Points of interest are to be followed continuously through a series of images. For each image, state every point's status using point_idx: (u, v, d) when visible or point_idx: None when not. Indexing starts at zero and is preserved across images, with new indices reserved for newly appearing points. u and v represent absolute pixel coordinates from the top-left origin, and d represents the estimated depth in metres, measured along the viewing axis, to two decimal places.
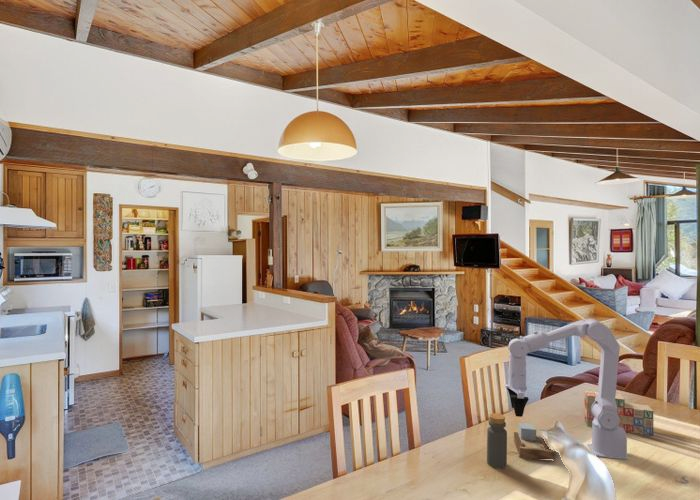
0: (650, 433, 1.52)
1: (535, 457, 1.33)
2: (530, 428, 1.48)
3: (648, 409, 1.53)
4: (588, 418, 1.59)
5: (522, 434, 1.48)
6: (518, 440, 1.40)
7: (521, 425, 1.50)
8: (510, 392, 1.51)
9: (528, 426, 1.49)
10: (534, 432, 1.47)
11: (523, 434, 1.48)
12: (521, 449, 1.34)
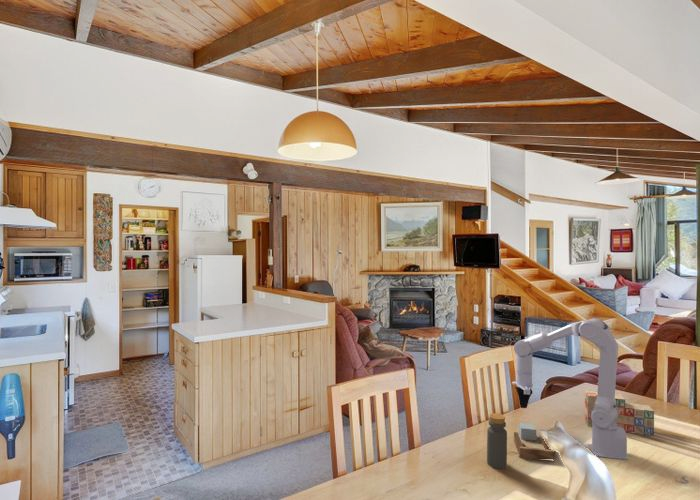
0: (651, 433, 1.52)
1: (535, 457, 1.33)
2: (530, 428, 1.48)
3: (648, 409, 1.53)
4: (589, 418, 1.59)
5: (522, 434, 1.48)
6: (518, 440, 1.40)
7: (521, 425, 1.50)
8: None
9: (528, 426, 1.49)
10: (534, 432, 1.47)
11: (523, 434, 1.48)
12: (521, 449, 1.34)
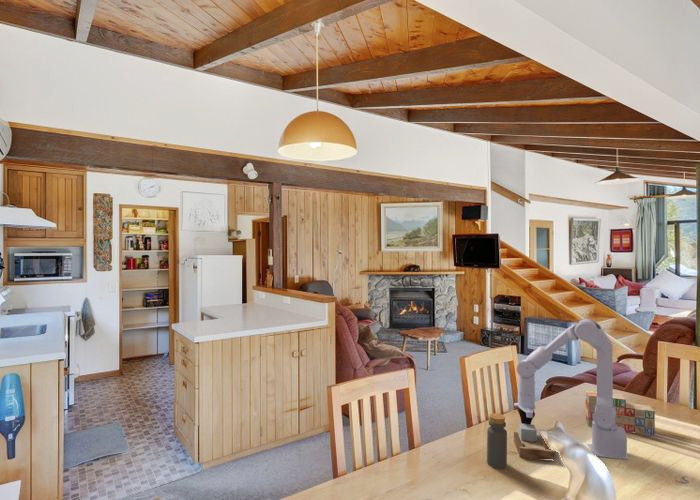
0: (651, 433, 1.52)
1: (535, 457, 1.33)
2: (530, 429, 1.47)
3: (649, 409, 1.53)
4: (589, 418, 1.59)
5: (522, 435, 1.47)
6: (518, 440, 1.40)
7: (521, 425, 1.49)
8: None
9: (528, 427, 1.48)
10: (534, 433, 1.46)
11: (523, 434, 1.47)
12: (521, 449, 1.34)
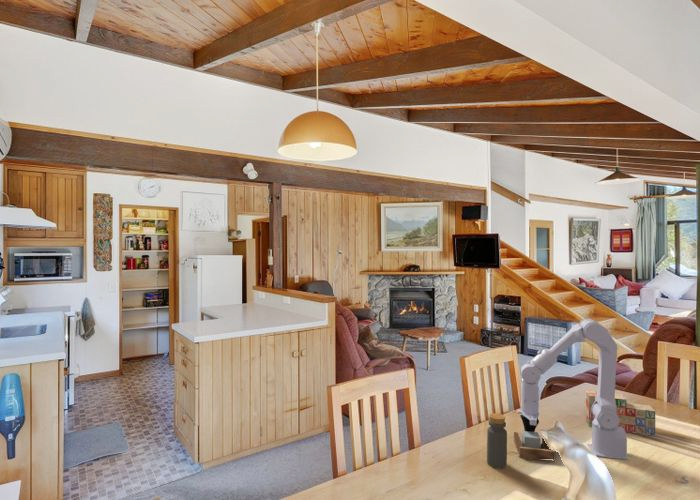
0: (652, 433, 1.52)
1: (535, 457, 1.33)
2: (534, 437, 1.40)
3: (649, 409, 1.53)
4: (590, 418, 1.59)
5: (526, 443, 1.40)
6: (518, 440, 1.40)
7: (524, 433, 1.43)
8: None
9: (532, 435, 1.42)
10: (538, 441, 1.39)
11: (526, 442, 1.40)
12: (521, 449, 1.34)
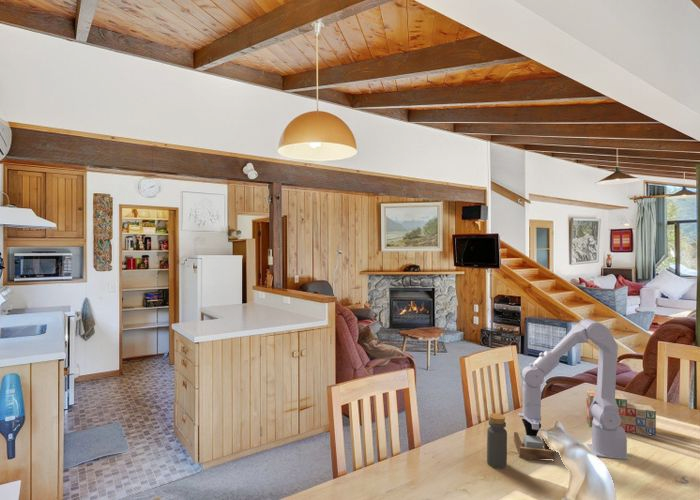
0: (652, 433, 1.52)
1: (535, 457, 1.33)
2: (536, 441, 1.37)
3: (650, 409, 1.53)
4: (590, 418, 1.59)
5: None
6: (518, 440, 1.40)
7: (526, 438, 1.40)
8: None
9: (534, 439, 1.38)
10: (540, 446, 1.36)
11: None
12: (521, 449, 1.34)
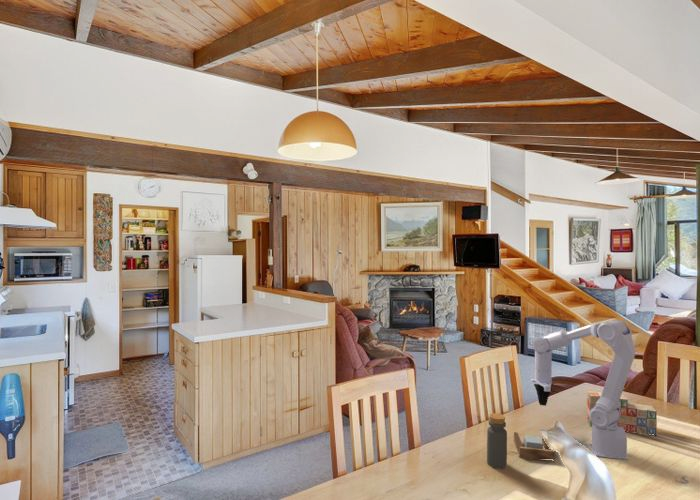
0: (653, 433, 1.52)
1: (535, 457, 1.33)
2: (536, 442, 1.37)
3: (651, 409, 1.53)
4: None
5: None
6: (518, 440, 1.40)
7: (526, 438, 1.40)
8: None
9: (534, 440, 1.38)
10: (541, 446, 1.36)
11: None
12: (521, 449, 1.34)
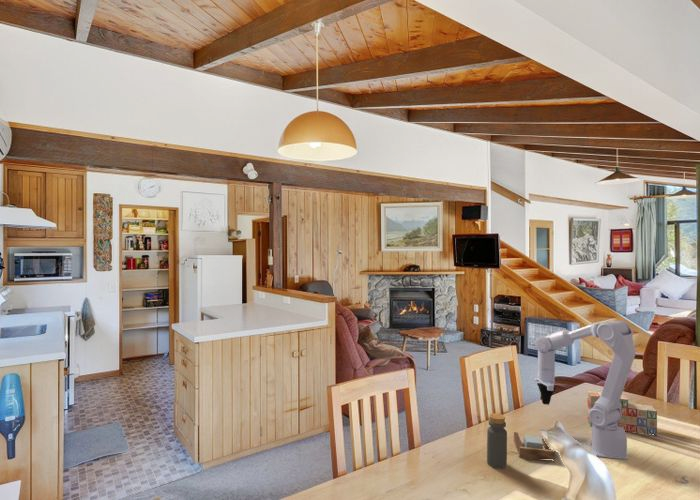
0: (654, 433, 1.52)
1: (535, 457, 1.33)
2: (536, 442, 1.37)
3: (651, 409, 1.53)
4: None
5: None
6: (518, 440, 1.40)
7: (526, 438, 1.40)
8: None
9: (534, 440, 1.38)
10: (541, 446, 1.36)
11: None
12: (521, 449, 1.34)
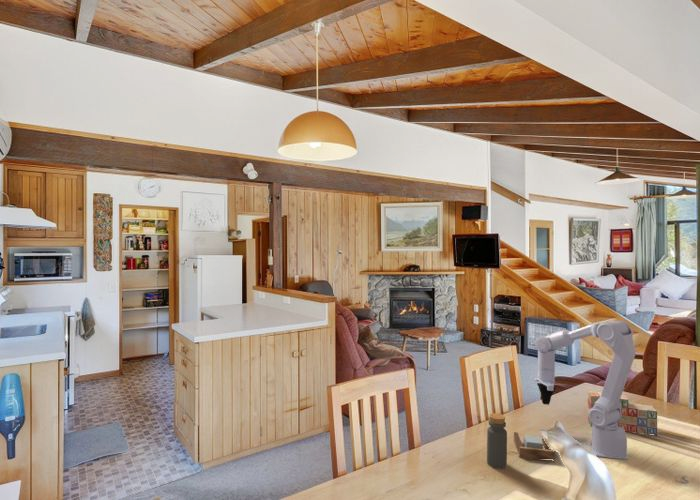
0: (654, 433, 1.52)
1: (535, 457, 1.33)
2: (536, 442, 1.37)
3: (651, 409, 1.53)
4: None
5: None
6: (518, 440, 1.40)
7: (526, 438, 1.40)
8: None
9: (534, 440, 1.38)
10: (541, 446, 1.36)
11: None
12: (521, 449, 1.34)
